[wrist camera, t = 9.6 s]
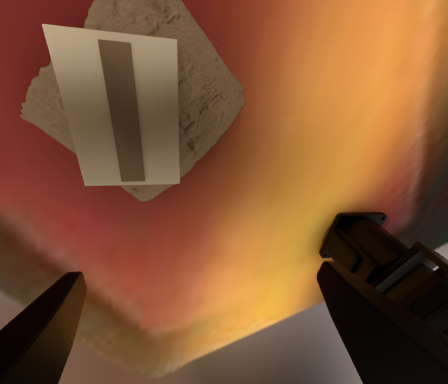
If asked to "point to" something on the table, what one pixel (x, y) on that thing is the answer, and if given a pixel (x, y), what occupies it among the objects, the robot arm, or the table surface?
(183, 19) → the clay tablet
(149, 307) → the table surface
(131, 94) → the taped cardboard box
